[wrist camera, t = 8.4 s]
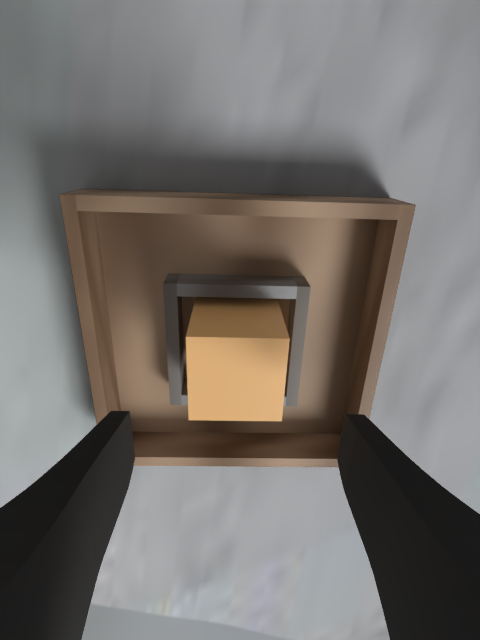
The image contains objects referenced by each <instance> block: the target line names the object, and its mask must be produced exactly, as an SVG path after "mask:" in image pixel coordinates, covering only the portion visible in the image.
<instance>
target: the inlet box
mask: <svg viewBox="0 0 480 640" xmlns="http://www.w3.org/2000/svg"><path fill="white" fill-rule="evenodd" d="M59 196H60V202H61V208H62V214H63V220H64V226H65V232H66V238H67V245H68V251H69V257H70V263H71V269H72V275H73V281H74V287H75V293H76V300H77V306H78V312H79V318H80V324H81V330H82V336H83V342H84V348H85V355H86V361H87V367H88V373H89V379H90V385H91V391H92V397H93V403H94V410H95V416H96V422H97V424H98V423H99V422H100V421H101V420H102V419H103V418H104V417H105V416H106V415H107V414H108V413H109V412H110V411H130V418H131V427H132V436H133V444H134V453H135V461H134V465H141V466H258V467H339V466H338V461H337V459H338V454H339V449H340V443H341V438H342V432H343V427H344V422H345V416H346V414H364V415H365V416H366V417H367V418H368V419H369V417H370V412H371V408H372V403H373V399H374V394H375V389H376V385H377V380H378V376H379V371H380V366H381V362H382V357H383V353H384V348H385V344H386V339H387V334H388V330H389V325H390V321H391V316H392V311H393V307H394V302H395V298H396V293H397V288H398V284H399V279H400V275H401V270H402V266H403V261H404V256H405V252H406V247H407V243H408V238H409V233H410V229H411V224H412V220H413V215H414V210H415V206H416V205H414V204H410V203H407V202H403V201H400V200H396V199H393V198H372V197H338V196H305V195H271V194H238V193H204V192H171V191H138V190H104V189H81V190H76V191H72V192H68V193H63V194H59ZM196 297H226V298H272V299H278V302H279V306H280V309H281V312H282V315H283V318H284V322H285V325H286V328H287V331H288V335H289V338H290V341H289V352H288V362H287V372H286V383H285V393H284V404H283V414H282V421H208V420H189V417H188V388H187V359H186V334H187V330H188V326H189V322H190V318H191V314H192V310H193V307H194V303H195V299H196Z"/></svg>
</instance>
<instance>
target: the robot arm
mask: <svg viewBox="0 0 480 640" xmlns="http://www.w3.org/2000/svg"><path fill="white" fill-rule="evenodd" d="M134 461H135V453H134V444H133V436H132V427H131V418H130V411H110V412H109V413H108V414H107V415H106V416H105V417H104V418H103V419H102V420H101V421H100V422H99V423H98V424H97V425H96V426H95V427H94V428H93V429H92V430H91V431H90V432H89V433H88V434H87V435H86V436H85V437H84V438H83V439H82V440H81V441H80V442H79V443H78V444H77V445H76V446H75V447H74V448H73V449H72V450H71V451H70V452H69V453H67V454H66V455H65V456H64V457H63V458H62V459H61V460H60V461H59V462H58V463H56V464H55V465H54V466H53V467H52V468H51V469H50V470H48V471H47V472H46V473H45V474H44V475H43V476H42V477H40V478H39V479H38V480H37V481H36V482H34V483H33V484H32V485H31V486H29V487H28V488H27V489H26V490H24V491H23V492H22V493H20V494H19V495H18V496H16V497H15V498H14V499H12V500H11V501H10V502H8V503H7V504H5V505H4V506H3V507H1V508H0V640H81V638H82V634H83V630H84V626H85V622H86V618H87V614H88V610H89V606H90V603H91V599H92V595H93V591H94V587H95V584H96V580H97V576H98V573H99V569H100V566H101V563H102V560H103V557H104V554H105V551H106V549H107V546H108V543H109V540H110V538H111V535H112V532H113V529H114V527H115V524H116V521H117V518H118V516H119V513H120V510H121V507H122V504H123V502H124V499H125V496H126V493H127V490H128V487H129V483H130V479H131V474H132V470H133V465H134ZM337 461H338V466H339V470H340V475H341V479H342V484H343V488H344V491H345V494H346V497H347V500H348V503H349V506H350V508H351V511H352V514H353V517H354V520H355V522H356V525H357V528H358V531H359V533H360V536H361V539H362V542H363V544H364V547H365V550H366V553H367V555H368V558H369V561H370V564H371V568H372V571H373V574H374V577H375V581H376V585H377V589H378V593H379V596H380V600H381V604H382V608H383V612H384V616H385V620H386V624H387V628H388V632H389V636H390V640H480V514H479V513H477V512H476V511H474V510H473V509H471V508H470V507H469V506H467V505H466V504H465V503H463V502H462V501H461V500H459V499H458V498H457V497H455V496H454V495H453V494H451V493H450V492H449V491H447V490H446V489H445V488H444V487H442V486H441V485H440V484H439V483H437V482H436V481H435V480H434V479H433V478H431V477H430V476H429V475H428V474H427V473H426V472H424V471H423V470H422V469H421V468H420V467H419V466H417V465H416V464H415V463H414V462H413V461H412V460H411V459H410V458H409V457H407V456H406V455H405V454H404V453H403V452H402V451H401V450H400V449H399V448H398V447H397V446H396V445H395V444H394V443H393V442H392V441H391V440H390V439H389V438H388V437H387V436H386V435H384V434H383V433H382V432H381V431H380V430H379V429H378V428H377V427H376V426H375V425H374V424H373V423H372V422H371V421H370V420H369V419H368V418H367V417H366V416H365V415H364V414H346V416H345V422H344V427H343V432H342V438H341V443H340V449H339V454H338V459H337Z"/></svg>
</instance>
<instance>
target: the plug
mask: <svg viewBox="0 0 480 640" xmlns="http://www.w3.org/2000/svg"><path fill="white" fill-rule="evenodd" d="M289 341H290V338H289V335H288V331H287V328H286V325H285V322H284V318H283V315H282V312H281V309H280V306H279V302H278V299H272V298H226V297H196V299H195V303H194V307H193V310H192V314H191V318H190V322H189V326H188V330H187V334H186V359H187V388H188V417H189V420H208V421H282V414H283V404H284V393H285V383H286V372H287V362H288V352H289Z"/></svg>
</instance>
